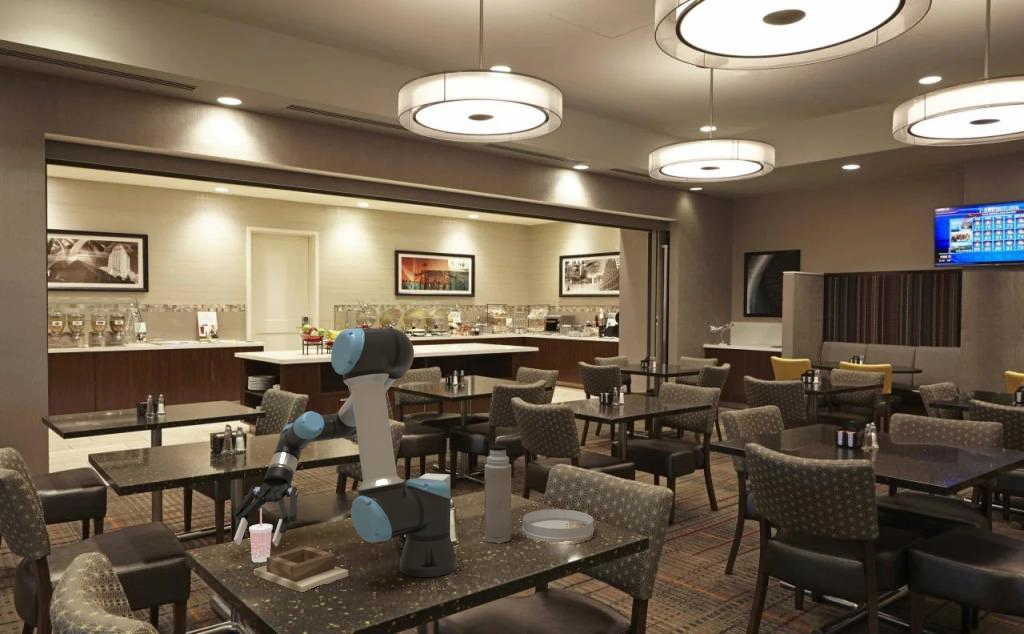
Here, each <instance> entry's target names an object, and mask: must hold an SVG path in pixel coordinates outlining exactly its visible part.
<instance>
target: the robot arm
mask: <svg viewBox="0 0 1024 634" xmlns="http://www.w3.org/2000/svg"><path fill="white" fill-rule="evenodd" d="M330 354H331V356H330V361H331V367H332V368H333V369H334V371H335V373H337V374H338V375H342V378H343V383H344V384H345V385H346V386H347V387H349V388H350V395H349V397H348V398H347V399H346V401H345V402H344V403H343V405H342V406H341V407H340V409H339V410H337V412H336V413H331V414H320V413H318V412H315V411H306V412H303V413H302V414H301V415H300V416H298V418H296V419H295V421H294V422H293V423H292V422H291V423H289V424H288V423H287V424H286V425H285V426H283V428H282V431H281V432H280V434H279V439H278V441H277V443H276V446H275V450H274V453H273V455H272V457H271V459H270V462H269V465H268V468H267V471H266V473H265V477H264V479H263V483H262V485H260V486H255V485H251V486H250V487H249V490H248V493H247V494H246V495H245V497H244V498H243V500H242V501H241V502H240V504H239V505H238V506H237V507H236V509H235V511H234V512H233V516H234V518H235V519H236V520H237V522H236V526H235V528H234V529H235V531H236V533H235V535H234V538H233V541H234V542H235V544H236V545H237V546H238V545H241V542H242V540H243V537H244V534H245V532H246V529H247V526H248V524H249V523H248V519H249V518H250V517H252V515H253V514H255V513H256V512H257V511H258V509H260V508H261V507H262V506H264V505H265V504H266V503H272V502H273V503H278V506H279V509H280V514H281V516H282V517H281V518H279V520H278V523H277V526H276V529H275V532H274V534H273V537H272V539H271V543H273V545H274V546H275V547H278V546H279V544H280V541H281V538H282V535H283V534H285V533H286V532H287V529H288V525H289V523H291V522H297V519H298V514H297V513H298V512H297V511H298V507H297V506H298V503H297V502H298V496H299V493H300V491H299V489H298V487H297V486H293V487H291V484H292V481H293V478H294V475H295V473H296V470H297V467H298V463H299V461H300V458H301V455H302V452H303V451H304V450H305V448H307V447H308V446H309V445H310V444H311V443H315V442H316V443H317V442H323V441H330V440H338V439H349V438H353V437H356V439H357V447H358V453H359V454H358V455H359V461H360V468H361V476H362V482H361V484H360V486H359V487H358V488H357V493H358V494H357V495H358V496H357V497H356V498H355V499H353V501H352V503H351V506H352V507H350V517H351V521H352V524H353V527H354V529H355V531H356V532H357V534H358V535H359V536H360V537H361V538H362V539H363V540H364V541H366V542H368V543H374V544H375V543H379V542H388V541H389V540H390V539H391V540H392V539H396V538H398V537H402V536H405V542H404V545H403V548H402V552H401V553H402V554H401V556H400V558H399V571H400V572H401V573H402V574H404V575H406V576H410V577H416V578H417V577H418V578H434V577H441V576H444V575H447V574H451V573H452V572H454V571H455V570H456V569H457V567H458V558H457V555H456V553H455V550H454V546H453V542H452V537H451V508H452V507H451V500H452V497H451V485H450V486H449V485H448V484H447V483H446V482H444V481H440V480H434V479H423V478H420V477H417V478H409V479H407V480H406V483H405V481H404V479H402V478H401V477H399V475H398V472H397V466H396V459H395V452H394V447H393V438H392V433H391V432H392V431H391V430H392V429H391V424H390V423H391V422H390V418H389V417H390V416H389V410H388V403H387V396H386V393H387V391H388V390H389V389H390V388H391V387H392V385H393V384H394V383H395V381H398V380H401V379H403V378H404V377H405V375H406V374H407V372H409V370H410V368H411V367H412V365H413V362H414V357H415V349H414V346H413V343H412V341H411V340H410V337H409V336H408V335H407V334H406V333H404V332H403V331H402V330H400V329H396V328H393V327H386V328H384V327H383V328H377V327H376V328H375V327H374V328H370V327H356V328H347V329H344V330H342V331H341V332H340V333H338V335H336V337H335V339H334V341H333V344H332V346H331V353H330ZM405 486H406V487H405ZM288 494H289V513H288V511H287V507H286V504H285V503H286V502H285V499H284V498H285V497H286V496H287V495H288Z"/></svg>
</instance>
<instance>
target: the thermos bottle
mask: <svg viewBox="0 0 1024 634" xmlns="http://www.w3.org/2000/svg"><path fill="white" fill-rule="evenodd" d="M489 449H490V450H489V455H488V456H487V457H486V464H484V541H485V540H486V541H488V542H505V541H508V540H510V539H511V540H512V464H510V457H509V456H508V455H507V446H506V445H502V444H500V445H498V444H497V445H490V447H489ZM486 541H485V542H486ZM488 542H487V543H488Z"/></svg>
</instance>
